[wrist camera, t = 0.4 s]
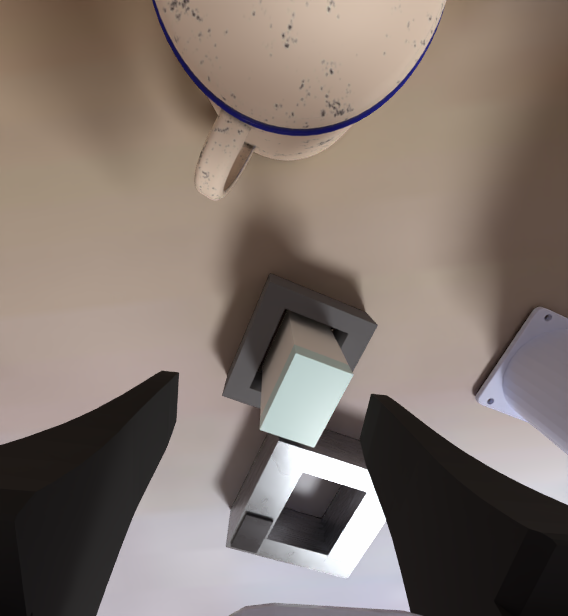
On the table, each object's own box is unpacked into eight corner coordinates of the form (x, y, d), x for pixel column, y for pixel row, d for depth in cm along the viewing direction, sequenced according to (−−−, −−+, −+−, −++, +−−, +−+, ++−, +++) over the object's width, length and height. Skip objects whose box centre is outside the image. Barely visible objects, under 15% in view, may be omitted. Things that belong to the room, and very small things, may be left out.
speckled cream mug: (255, -76, 16) (218, -768, 5) (402, 43, 17) (639, -248, 6) (151, 156, 18) (-27, 78, 7) (287, 238, 20) (309, 277, 9)
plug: (328, 324, 22) (353, 374, 15) (301, 378, 23) (314, 447, 16) (287, 308, 22) (295, 353, 15) (262, 364, 23) (259, 429, 16)
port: (394, 452, 25) (412, 487, 22) (339, 540, 28) (348, 583, 25) (277, 412, 24) (278, 444, 21) (230, 510, 26) (225, 550, 23)
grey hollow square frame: (365, 312, 22) (377, 325, 19) (316, 407, 24) (321, 429, 22) (270, 273, 21) (270, 281, 18) (227, 376, 23) (222, 395, 20)
